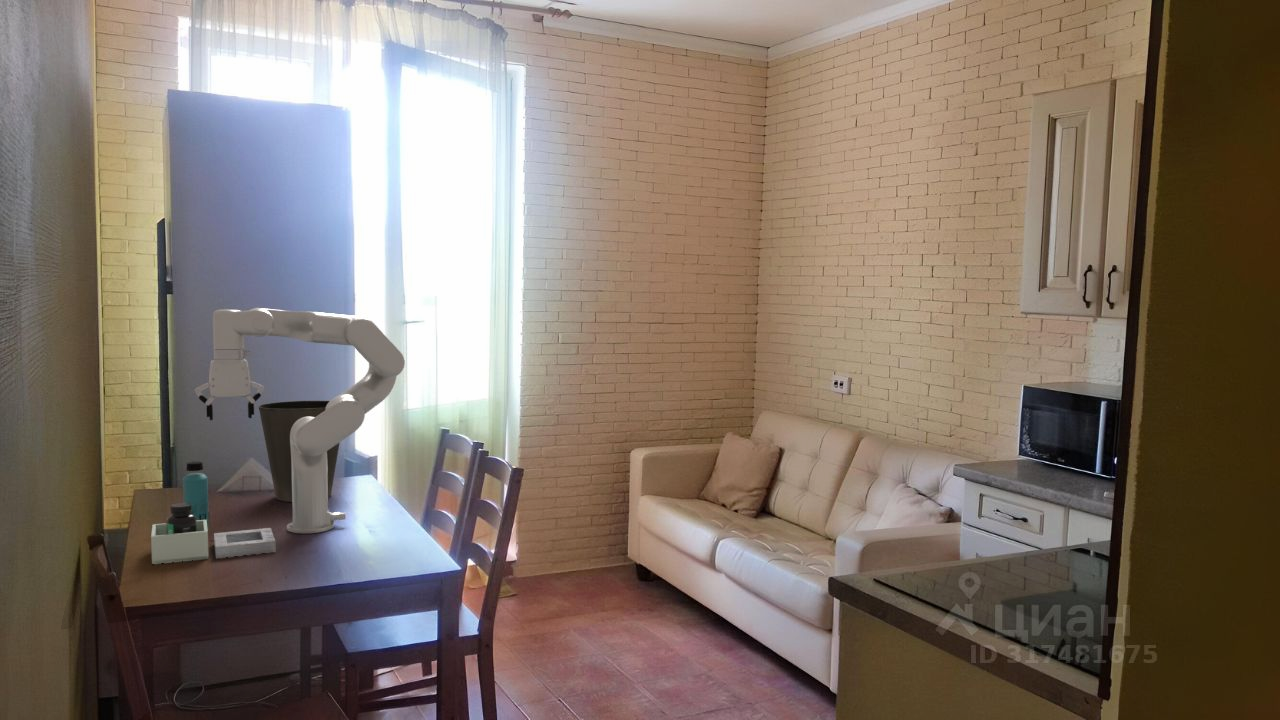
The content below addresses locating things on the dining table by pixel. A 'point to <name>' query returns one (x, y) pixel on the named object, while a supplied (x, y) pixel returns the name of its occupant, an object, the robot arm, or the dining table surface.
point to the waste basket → (277, 440)
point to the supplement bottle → (181, 519)
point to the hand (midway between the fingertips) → (230, 418)
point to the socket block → (244, 542)
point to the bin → (179, 544)
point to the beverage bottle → (197, 491)
